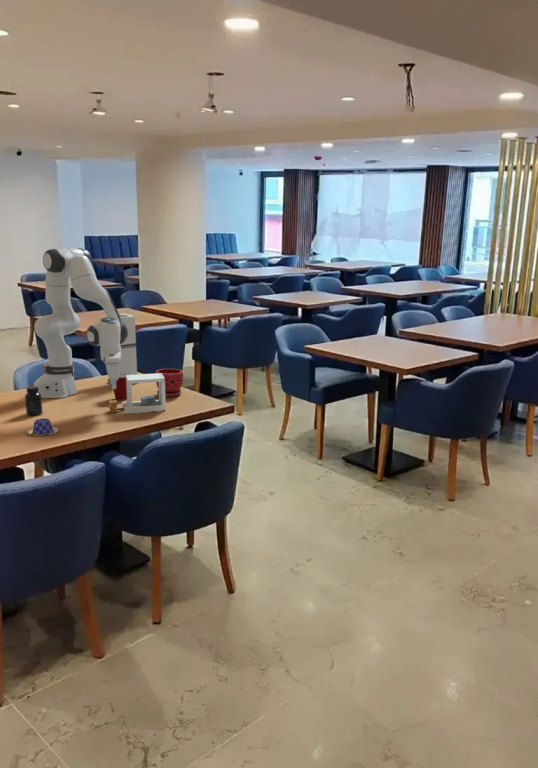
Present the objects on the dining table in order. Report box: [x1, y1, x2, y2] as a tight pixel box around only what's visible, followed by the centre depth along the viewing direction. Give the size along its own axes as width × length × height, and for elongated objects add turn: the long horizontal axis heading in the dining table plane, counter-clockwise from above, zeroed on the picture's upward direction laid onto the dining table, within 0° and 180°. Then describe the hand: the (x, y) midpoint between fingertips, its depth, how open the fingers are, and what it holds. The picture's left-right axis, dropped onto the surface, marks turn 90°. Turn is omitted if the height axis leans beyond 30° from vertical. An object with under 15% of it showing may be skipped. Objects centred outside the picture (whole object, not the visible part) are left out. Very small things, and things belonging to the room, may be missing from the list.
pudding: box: [26, 417, 59, 437], centre depth 278 cm, size 12×12×5 cm
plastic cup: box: [112, 373, 133, 401], centre depth 327 cm, size 11×11×12 cm
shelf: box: [122, 372, 167, 415], centre depth 309 cm, size 18×10×15 cm, turn 107°
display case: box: [104, 313, 138, 385], centre depth 352 cm, size 11×11×35 cm
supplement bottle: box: [24, 385, 43, 417], centre depth 301 cm, size 7×7×12 cm
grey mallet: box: [109, 395, 157, 413], centre depth 309 cm, size 20×6×5 cm, turn 107°
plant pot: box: [155, 368, 184, 398], centre depth 334 cm, size 13×13×12 cm
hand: (113, 386), depth 304 cm, fingers open, 8 cm apart
